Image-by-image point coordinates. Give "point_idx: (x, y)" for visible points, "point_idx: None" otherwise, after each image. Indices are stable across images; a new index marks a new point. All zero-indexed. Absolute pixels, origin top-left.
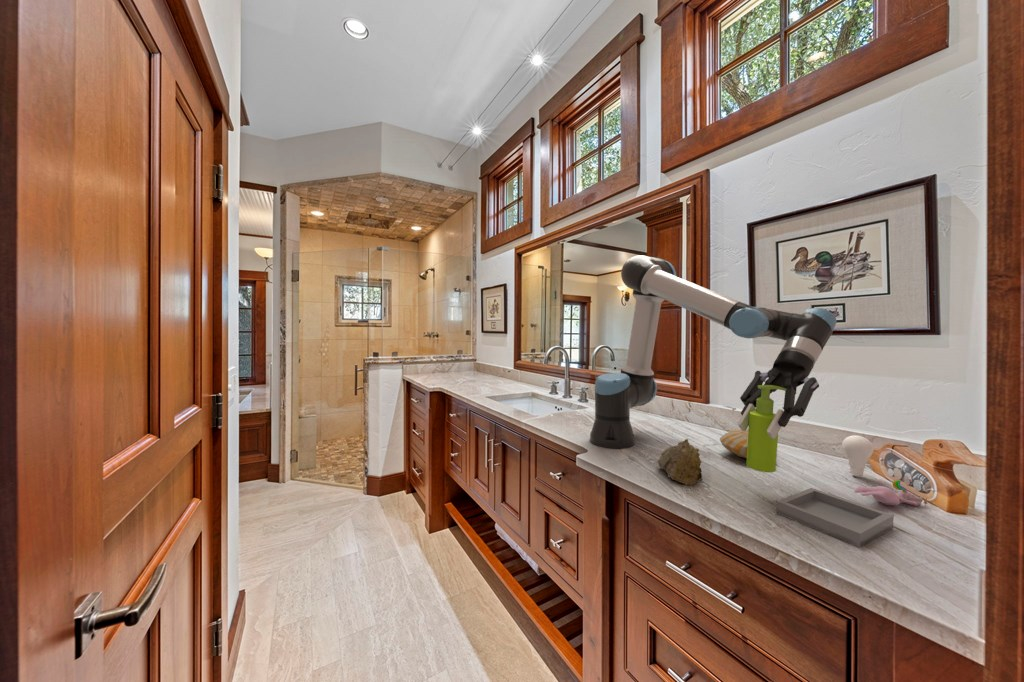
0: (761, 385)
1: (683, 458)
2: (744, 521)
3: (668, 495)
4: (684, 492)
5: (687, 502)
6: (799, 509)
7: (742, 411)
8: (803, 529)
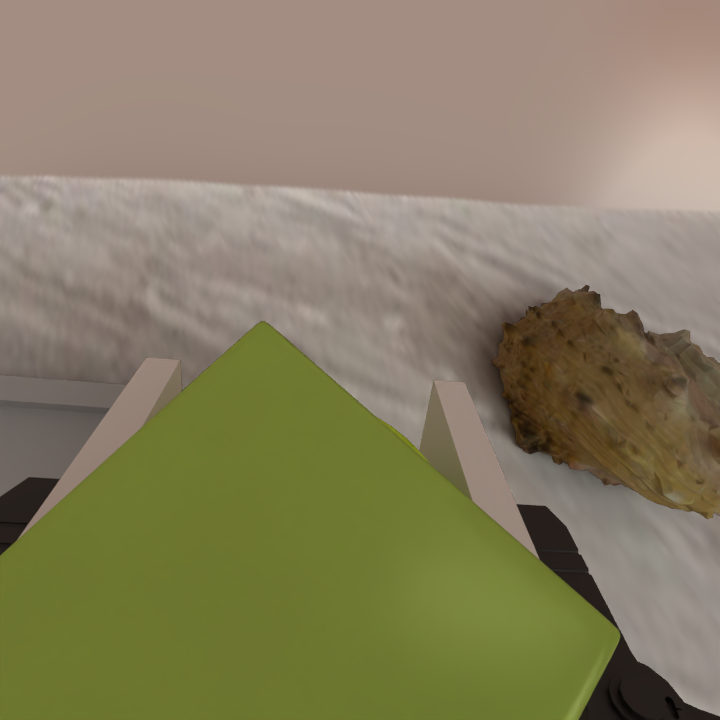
0: (442, 709)
1: (587, 317)
2: (224, 245)
3: (473, 211)
4: (463, 276)
5: (405, 217)
6: (79, 385)
7: (558, 536)
8: (71, 351)
